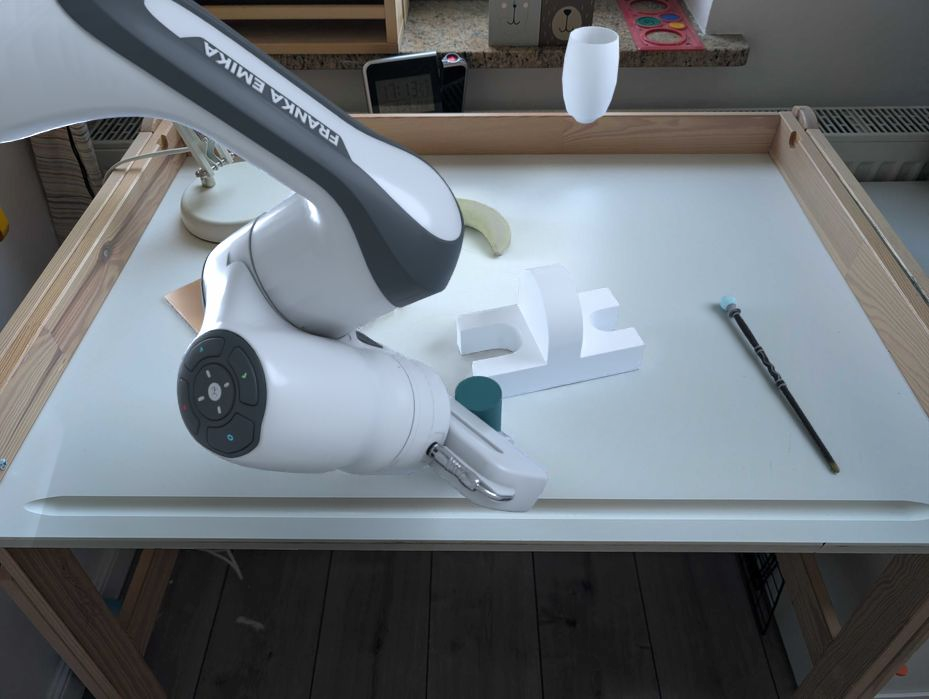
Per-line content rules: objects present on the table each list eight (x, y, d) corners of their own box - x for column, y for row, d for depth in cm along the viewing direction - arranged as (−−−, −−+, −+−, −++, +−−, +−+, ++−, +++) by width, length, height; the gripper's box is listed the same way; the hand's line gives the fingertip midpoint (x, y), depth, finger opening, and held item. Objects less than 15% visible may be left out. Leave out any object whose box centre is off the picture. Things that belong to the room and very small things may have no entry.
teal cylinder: (477, 495, 66) (476, 418, 59) (449, 469, 68) (445, 391, 61) (508, 471, 68) (511, 393, 60) (479, 446, 70) (479, 368, 63)
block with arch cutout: (604, 311, 84) (616, 233, 76) (639, 369, 77) (656, 290, 70) (455, 340, 81) (452, 262, 73) (479, 403, 74) (478, 324, 67)
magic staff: (831, 480, 68) (827, 473, 67) (720, 305, 85) (715, 297, 84) (849, 471, 67) (845, 464, 66) (733, 297, 85) (729, 289, 83)
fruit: (427, 203, 101) (425, 182, 99) (524, 230, 96) (525, 210, 94) (400, 229, 97) (398, 208, 95) (500, 260, 92) (500, 239, 89)
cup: (562, 163, 109) (575, 21, 94) (609, 172, 106) (629, 29, 92) (547, 187, 104) (557, 41, 89) (595, 197, 102) (614, 50, 87)
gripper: (513, 460, 47) (592, 465, 59) (328, 313, 58) (426, 342, 69) (465, 539, 48) (552, 528, 59) (292, 380, 59) (394, 397, 70)
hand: (483, 427), depth 64 cm, fingers closed on teal cylinder, 4 cm apart
